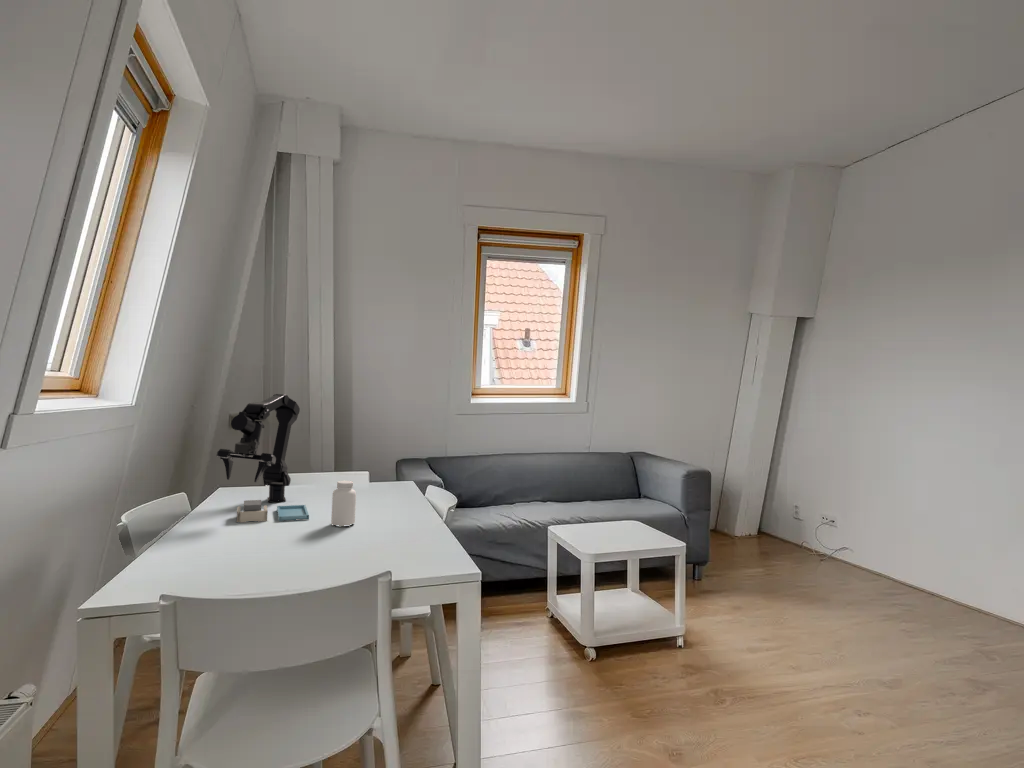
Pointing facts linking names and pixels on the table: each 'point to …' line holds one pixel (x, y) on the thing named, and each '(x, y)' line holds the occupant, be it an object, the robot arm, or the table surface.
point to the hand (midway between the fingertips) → (241, 480)
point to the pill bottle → (343, 504)
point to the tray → (292, 512)
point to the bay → (251, 515)
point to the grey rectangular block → (252, 505)
